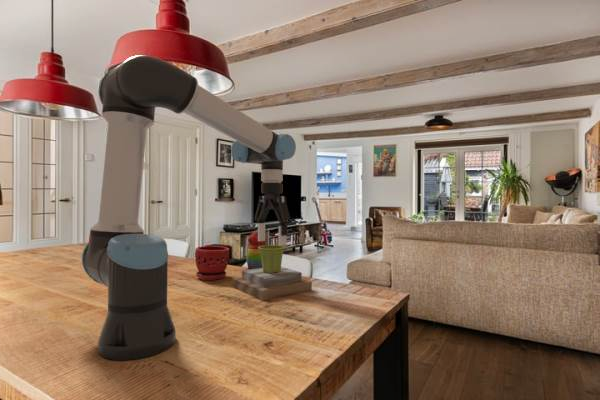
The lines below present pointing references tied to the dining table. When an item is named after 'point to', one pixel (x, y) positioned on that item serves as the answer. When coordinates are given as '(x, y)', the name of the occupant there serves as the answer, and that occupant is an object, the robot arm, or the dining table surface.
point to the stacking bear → (254, 252)
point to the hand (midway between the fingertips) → (271, 243)
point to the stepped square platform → (271, 283)
